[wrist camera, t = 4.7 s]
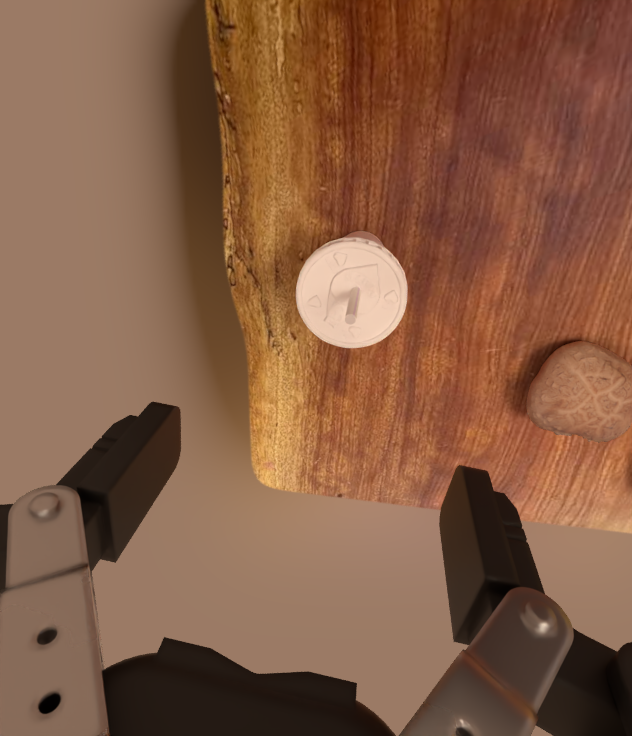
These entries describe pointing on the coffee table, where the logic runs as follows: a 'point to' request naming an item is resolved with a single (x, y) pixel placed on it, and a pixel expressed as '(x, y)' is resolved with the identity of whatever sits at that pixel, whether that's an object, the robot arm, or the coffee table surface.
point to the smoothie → (352, 291)
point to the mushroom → (582, 393)
